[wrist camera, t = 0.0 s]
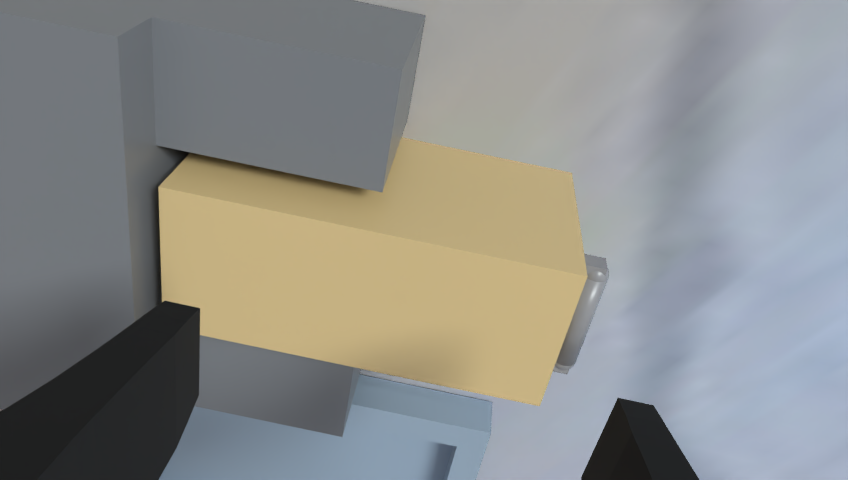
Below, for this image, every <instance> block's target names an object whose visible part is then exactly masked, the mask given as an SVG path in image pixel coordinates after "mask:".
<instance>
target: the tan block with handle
mask: <svg viewBox="0 0 848 480" xmlns="http://www.w3.org/2000/svg"><path fill="white" fill-rule="evenodd" d="M158 191H159V223H160V254H161V285H162V302H164V301H169V302H174V303H178V304H183V305H188V306H192V307H197V308H200V335H202V336H207V337H212V338H216V339H221V340H226V341H231V342H236V343H240V344H245V345H250V346H255V347H259V348H264V349H269V350H274V351H279V352H283V353H288V354H293V355H298V356H302V357H307V358H312V359H317V360H322V361H326V362H331V363H336V364H341V365H345V366H350V367H355V368H360V369H365V370H369V371H374V372H379V373H384V374H388V375H393V376H398V377H403V378H408V379H412V380H417V381H422V382H427V383H431V384H436V385H441V386H446V387H451V388H455V389H460V390H465V391H470V392H474V393H479V394H484V395H489V396H494V397H498V398H503V399H508V400H513V401H517V402H522V403H527V404H532V405H537V406H540V404H541V401H542V399H543V396H544V393H545V390H546V388H547V385H548V382H549V380H550V377H551V374H552V372H553V371H554V372H559V373H564V374H568V371H569V369H570V368H572V367H573V366H574V364H575V362H576V360H577V357H578V355H579V352H580V349H581V347H582V344H583V342H584V339H585V337H586V334H587V331H588V329H589V326H590V324H591V321H592V319H593V316H594V314H595V311H596V308H597V306H598V303H599V301H600V298H601V296H602V293H603V290H604V288H605V285H606V283H607V280H608V277H609V271H608V268H607V263H606V258H601V257H596V256H591V255H587V254H584V250H583V243H582V237H581V230H580V224H579V217H578V211H577V204H576V198H575V191H574V185H573V178H572V173H570V172H565V171H560V170H555V169H551V168H546V167H541V166H536V165H531V164H527V163H522V162H517V161H512V160H507V159H503V158H498V157H493V156H488V155H483V154H479V153H474V152H469V151H464V150H460V149H455V148H450V147H445V146H440V145H436V144H431V143H426V142H421V141H416V140H412V139H407V138H402V137H401V140H400V143H399V146H398V148H397V151H396V154H395V157H394V160H393V163H392V166H391V169H390V172H389V175H388V178H387V180H386V183H385V186H384V189H383V192H377V191H373V190H368V189H363V188H358V187H353V186H349V185H344V184H339V183H334V182H329V181H325V180H320V179H315V178H310V177H306V176H301V175H296V174H291V173H286V172H282V171H277V170H272V169H267V168H262V167H258V166H253V165H248V164H243V163H239V162H234V161H229V160H224V159H219V158H215V157H210V156H205V155H200V154H195V153H190V154H189V155H188V156H187V157H186V158H185V159H184V160H183V161H182V162H181V163H180V164H179V165H178V166H177V167H176V169H175V170H174V171H173V172H172V173H171V174H170V175H169V176H168V177H167V178H166V179H165V180H164V181H163V182H162V183H161V185H160V186H159V187H158Z"/></svg>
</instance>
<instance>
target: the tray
mask: <svg viewBox="0 0 848 480" xmlns="http://www.w3.org/2000/svg"><path fill="white" fill-rule="evenodd" d="M491 419H492V402H489V401H484V400H480V399H475V398H470V397H465V396H461V395H456V394H451V393H446V392H441V391H437V390H432V389H427V388H422V387H417V386H413V385H408V384H403V383H398V382H394V381H389V380H384V379H379V378H374V377H370V376H365V375H359V378H358V382H357V386H356V389H355V393H354V397H353V400H352V404H351V408H350V411H349V415H348V419H347V422H346V426H345V430H344V433H343V437H339V436H334V435H330V434H325V433H320V432H315V431H311V430H306V429H301V428H296V427H291V426H287V425H282V424H277V423H272V422H268V421H263V420H258V419H253V418H248V417H244V416H239V415H234V414H229V413H225V412H220V411H215V410H210V409H205V408H201V407H196V406H194V408H193V411H192V413H191V416H190V418H189V420H188V423H187V425H186V427H185V430H184V432H183V434H182V437H181V439H180V441H179V443H178V446H177V448H176V450H175V452H174V453H173V455H172V457H171V459H170V461H169V462H168V464H167V466H166V468H165V469H164V471H163V473H162V475H161V476H160V478H159V480H476V477H477V474H478V471H479V468H480V465H481V462H482V459H483V456H484V453H485V450H486V447H487V444H488V441H489V438H490V435H491Z"/></svg>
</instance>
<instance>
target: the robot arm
mask: <svg viewBox="0 0 848 480" xmlns="http://www.w3.org/2000/svg"><path fill="white" fill-rule="evenodd" d="M199 361H200V308H197V307H192V306H188V305H183V304H178V303H174V302H169V301H164V302H162V303H160V304H159V305H157V306H156V307H154V308H153V309H152V310H150V311H149V312H147V313H146V314H145V315H143V316H142V317H140V318H139V319H138V320H136V321H135V322H134V323H132V324H131V325H130V326H128V327H127V328H125V329H124V330H123V331H121V332H120V333H119V334H117V335H116V336H114V337H113V338H112V339H110V340H109V341H107V342H106V343H105V344H103V345H102V346H100V347H99V348H98V349H96V350H95V351H93V352H92V353H90V354H89V355H87V356H86V357H84V358H83V359H82V360H80V361H79V362H77V363H76V364H74V365H73V366H71V367H70V368H68V369H67V370H65V371H64V372H62V373H61V374H60V375H58V376H56V377H55V378H53V379H52V380H50V381H49V382H47V383H46V384H44V385H42V386H41V387H39V388H38V389H36V390H34V391H33V392H31V393H30V394H28V395H26V396H25V397H23V398H21V399H20V400H18V401H17V402H15V403H13V404H12V405H10V406H9V407H7V408H5V409H4V410H2V411H0V480H159V478H160V476H161V475H162V473H163V471H164V469H165V468H166V466H167V464H168V462H169V461H170V459H171V457H172V455H173V453H174V452H175V450H176V448H177V446H178V443H179V441H180V439H181V437H182V434H183V432H184V430H185V427H186V425H187V423H188V420H189V418H190V416H191V413H192V411H193V408H194V406H195V403H196V401H197V399H198V396H199ZM582 480H699V479H698V477H697V475H696V474H695V472H694V471H693V469H692V467H691V466H690V464H689V462H688V461H687V459H686V458H685V456H684V454H683V453H682V451H681V449H680V448H679V446H678V445H677V443H676V441H675V440H674V438H673V436H672V435H671V433H670V432H669V430H668V428H667V427H666V425H665V423H664V422H663V420H662V418H661V417H660V415H659V414H658V412H657V410H656V409H655V407H654V406H653V405H649V404H644V403H639V402H635V401H630V400H625V399H621V398H618V399H617V401H616V403H615V406H614V408H613V410H612V412H611V414H610V416H609V419H608V421H607V423H606V425H605V427H604V429H603V432H602V434H601V436H600V438H599V440H598V442H597V445H596V447H595V449H594V451H593V453H592V455H591V458H590V460H589V462H588V464H587V466H586V468H585V471H584V473H583V475H582Z"/></svg>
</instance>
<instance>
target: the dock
mask: <svg viewBox="0 0 848 480" xmlns="http://www.w3.org/2000/svg"><path fill="white" fill-rule="evenodd" d="M424 21H425V15H421V14H416V13H411V12H406V11H401V10H397V9H392V8H387V7H382V6H377V5H373V4H368V3H363V2H358V1H353V0H0V409H5V408H7V407H9V406H10V405H12V404H13V403H15V402H17V401H18V400H20V399H21V398H23V397H25V396H26V395H28V394H30V393H31V392H33V391H34V390H36V389H38V388H39V387H41V386H42V385H44V384H46V383H47V382H49V381H50V380H52V379H53V378H55V377H56V376H58V375H60V374H61V373H62V372H64V371H65V370H67V369H68V368H70V367H71V366H73V365H74V364H76V363H77V362H79V361H80V360H82V359H83V358H84V357H86V356H87V355H89V354H90V353H92V352H93V351H95V350H96V349H98V348H99V347H100V346H102V345H103V344H105V343H106V342H107V341H109V340H110V339H112V338H113V337H114V336H116V335H117V334H119V333H120V332H121V331H123V330H124V329H125V328H127V327H128V326H130V325H131V324H132V323H134V322H135V321H136V320H138V319H139V318H140V317H142V316H143V315H145V314H146V313H147V312H149V311H150V310H152V309H153V308H154V307H156V306H157V305H159V304H160V303H162V285H161V254H160V223H159V191H158V187H159V186H160V185H161V183H162V182H163V181H164V180H165V179H166V178H167V177H168V176H169V175H170V174H171V173H172V172H173V171H174V170H175V169H176V167H177V166H178V165H179V164H180V163H181V162H182V161H183V160H184V159H185V158H186V157H187V156H188V155H189V154H190V153H195V154H200V155H205V156H210V157H215V158H219V159H224V160H229V161H234V162H239V163H243V164H248V165H253V166H258V167H262V168H267V169H272V170H277V171H282V172H286V173H291V174H296V175H301V176H306V177H310V178H315V179H320V180H325V181H329V182H334V183H339V184H344V185H349V186H353V187H358V188H363V189H368V190H373V191H377V192H383V189H384V186H385V183H386V180H387V178H388V175H389V172H390V169H391V166H392V163H393V160H394V157H395V154H396V151H397V148H398V146H399V143H400V140H401V137H402V134H403V131H404V128H405V125H406V122H407V119H408V113H409V108H410V102H411V96H412V90H413V85H414V79H415V73H416V67H417V62H418V56H419V50H420V44H421V39H422V33H423V27H424ZM360 371H361V369H360V368H355V367H350V366H345V365H341V364H336V363H331V362H326V361H322V360H317V359H312V358H307V357H302V356H298V355H293V354H288V353H283V352H279V351H274V350H269V349H264V348H259V347H255V346H250V345H245V344H240V343H236V342H231V341H226V340H221V339H216V338H212V337H207V336H202V335H200V361H199V396H198V399H197V401H196V403H195V406H196V407H201V408H205V409H210V410H215V411H220V412H225V413H229V414H234V415H239V416H244V417H248V418H253V419H258V420H263V421H268V422H272V423H277V424H282V425H287V426H291V427H296V428H301V429H306V430H311V431H315V432H320V433H325V434H330V435H334V436H339V437H343V433H344V430H345V426H346V422H347V419H348V415H349V411H350V408H351V404H352V400H353V397H354V393H355V389H356V386H357V382H358V378H359V375H360Z"/></svg>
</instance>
